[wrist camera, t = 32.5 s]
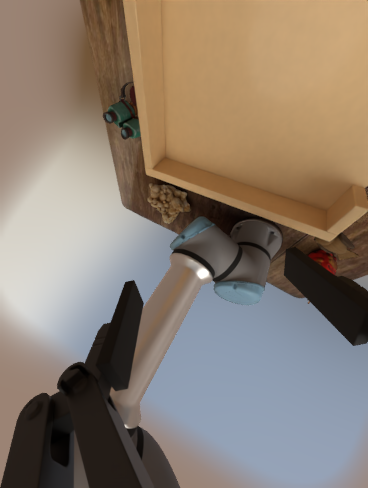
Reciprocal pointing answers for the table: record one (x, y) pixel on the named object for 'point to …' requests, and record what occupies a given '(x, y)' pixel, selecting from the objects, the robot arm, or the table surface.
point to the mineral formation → (168, 201)
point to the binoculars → (125, 115)
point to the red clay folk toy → (324, 260)
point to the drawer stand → (257, 104)
